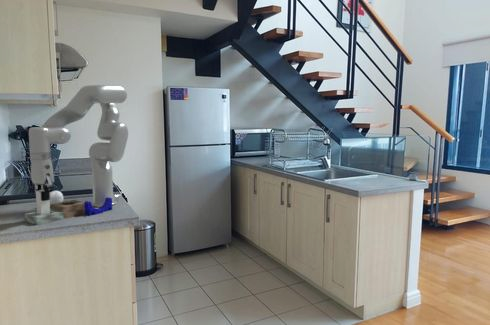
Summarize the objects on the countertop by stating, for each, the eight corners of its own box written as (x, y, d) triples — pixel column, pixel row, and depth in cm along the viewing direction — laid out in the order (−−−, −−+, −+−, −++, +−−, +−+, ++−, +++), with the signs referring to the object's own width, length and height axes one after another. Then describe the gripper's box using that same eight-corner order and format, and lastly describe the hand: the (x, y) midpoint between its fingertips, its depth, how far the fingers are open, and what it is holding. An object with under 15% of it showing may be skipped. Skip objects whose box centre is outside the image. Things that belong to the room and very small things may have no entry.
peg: (45, 212, 149) (44, 189, 148) (50, 213, 147) (48, 190, 146) (37, 213, 146) (35, 190, 145) (41, 215, 144) (40, 191, 143)
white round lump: (46, 205, 173) (45, 190, 172) (63, 203, 176) (63, 188, 175) (45, 208, 166) (44, 193, 165) (63, 207, 169) (62, 191, 168)
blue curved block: (90, 216, 155) (89, 203, 154) (85, 214, 157) (84, 201, 157) (114, 210, 164) (113, 198, 164) (108, 209, 167) (108, 197, 166)
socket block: (74, 210, 164) (73, 199, 163) (86, 213, 159) (86, 202, 158) (24, 220, 145) (24, 209, 145) (37, 224, 140) (36, 212, 140)
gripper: (60, 157, 143) (62, 200, 145) (39, 155, 152) (41, 195, 154) (41, 158, 137) (44, 204, 139) (21, 156, 146) (23, 198, 148)
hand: (42, 199), depth 146 cm, fingers closed on peg, 3 cm apart
